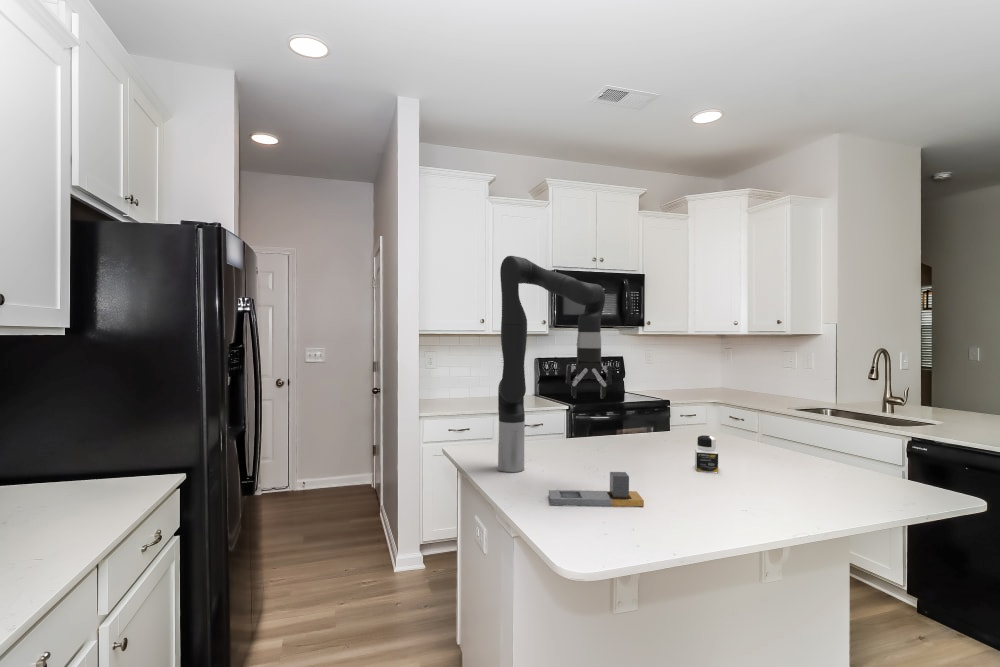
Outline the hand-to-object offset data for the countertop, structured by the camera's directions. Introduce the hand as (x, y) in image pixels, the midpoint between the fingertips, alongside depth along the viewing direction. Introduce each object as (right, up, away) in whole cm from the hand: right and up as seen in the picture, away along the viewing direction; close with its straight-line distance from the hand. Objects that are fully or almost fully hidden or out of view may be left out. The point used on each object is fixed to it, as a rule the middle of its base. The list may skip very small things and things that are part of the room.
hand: (588, 398), depth 158 cm
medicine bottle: (+46, -29, +22) cm, 59 cm away
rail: (0, -28, -13) cm, 31 cm away
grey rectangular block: (+7, -28, -13) cm, 32 cm away
